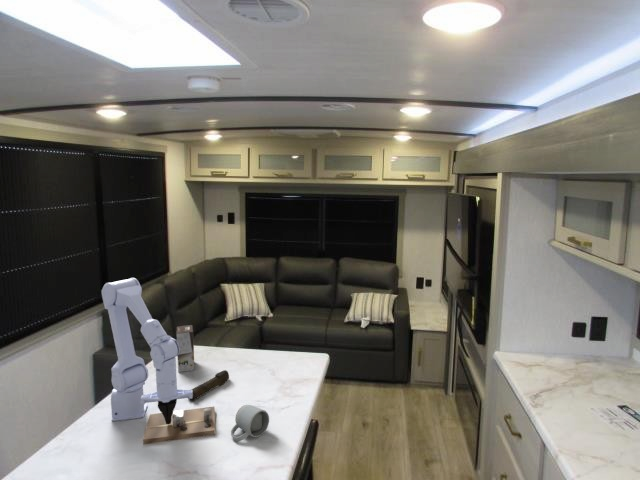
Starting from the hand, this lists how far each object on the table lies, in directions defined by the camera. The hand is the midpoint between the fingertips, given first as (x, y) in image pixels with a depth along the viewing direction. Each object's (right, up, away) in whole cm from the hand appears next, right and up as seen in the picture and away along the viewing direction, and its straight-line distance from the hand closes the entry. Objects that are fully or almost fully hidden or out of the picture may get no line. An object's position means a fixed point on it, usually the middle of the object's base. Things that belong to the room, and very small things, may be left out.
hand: (168, 422), depth 130 cm
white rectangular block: (+3, -1, +1) cm, 3 cm away
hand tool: (+6, +1, +26) cm, 27 cm away
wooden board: (+3, -2, +2) cm, 4 cm away
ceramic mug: (+25, -3, -1) cm, 25 cm away
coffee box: (-9, +3, +45) cm, 46 cm away
